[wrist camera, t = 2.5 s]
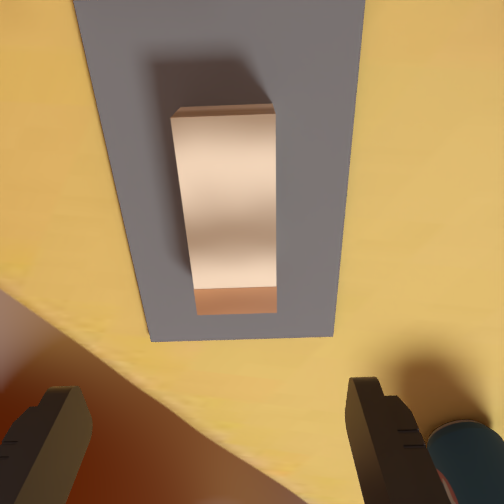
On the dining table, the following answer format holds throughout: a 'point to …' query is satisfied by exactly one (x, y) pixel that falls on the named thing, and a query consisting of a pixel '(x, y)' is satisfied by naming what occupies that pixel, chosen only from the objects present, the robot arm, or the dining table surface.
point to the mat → (229, 93)
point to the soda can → (469, 462)
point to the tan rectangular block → (229, 204)
